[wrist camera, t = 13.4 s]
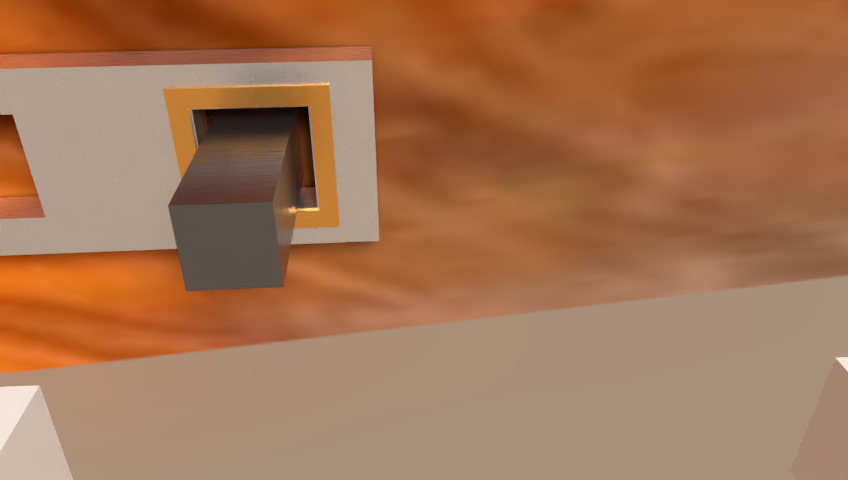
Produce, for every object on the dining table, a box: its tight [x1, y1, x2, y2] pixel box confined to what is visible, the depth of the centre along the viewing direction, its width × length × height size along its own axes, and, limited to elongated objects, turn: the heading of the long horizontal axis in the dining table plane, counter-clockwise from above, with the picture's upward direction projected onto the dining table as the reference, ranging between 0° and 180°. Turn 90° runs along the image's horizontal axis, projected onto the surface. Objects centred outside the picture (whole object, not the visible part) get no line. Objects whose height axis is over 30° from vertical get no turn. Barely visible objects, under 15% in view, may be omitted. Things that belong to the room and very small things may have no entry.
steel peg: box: [168, 107, 303, 291], centre depth 33 cm, size 4×4×11 cm
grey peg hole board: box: [0, 46, 379, 256], centre depth 36 cm, size 10×26×3 cm, turn 90°
